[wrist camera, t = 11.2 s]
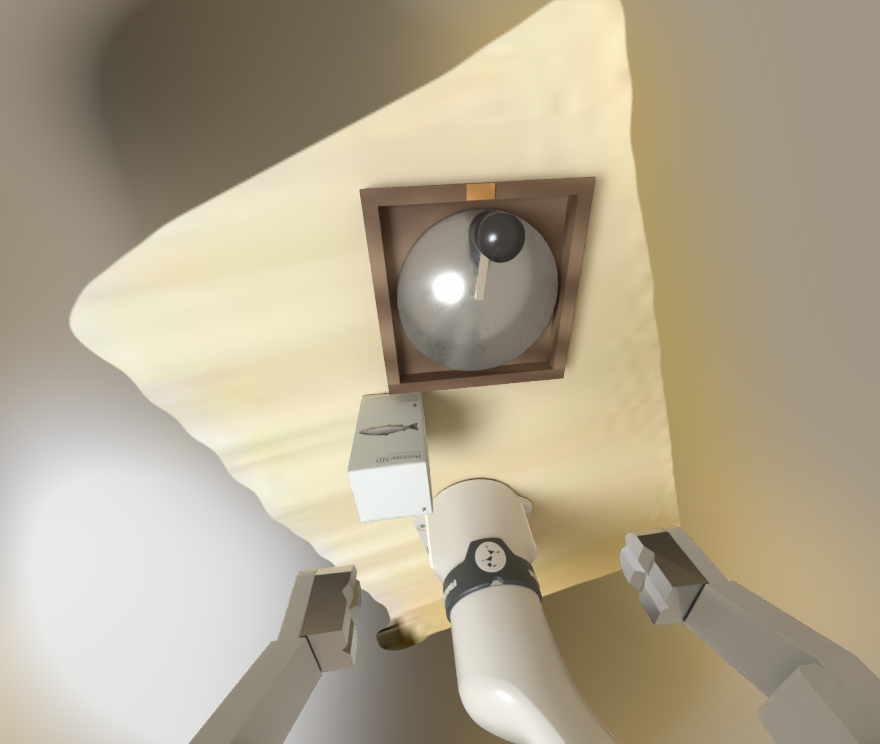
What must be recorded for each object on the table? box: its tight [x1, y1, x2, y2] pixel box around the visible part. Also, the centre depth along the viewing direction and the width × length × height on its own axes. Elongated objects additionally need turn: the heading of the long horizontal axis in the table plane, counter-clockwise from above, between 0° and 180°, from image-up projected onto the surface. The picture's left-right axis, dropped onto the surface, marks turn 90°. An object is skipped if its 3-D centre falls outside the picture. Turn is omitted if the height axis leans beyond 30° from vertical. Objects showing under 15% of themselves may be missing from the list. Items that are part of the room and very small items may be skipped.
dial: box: [397, 209, 558, 371], centre depth 31 cm, size 16×16×7 cm
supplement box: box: [347, 392, 433, 522], centre depth 36 cm, size 7×7×13 cm
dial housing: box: [359, 177, 596, 395], centre depth 33 cm, size 20×20×3 cm
